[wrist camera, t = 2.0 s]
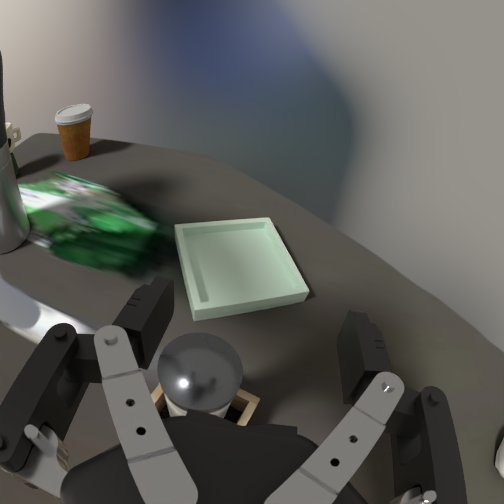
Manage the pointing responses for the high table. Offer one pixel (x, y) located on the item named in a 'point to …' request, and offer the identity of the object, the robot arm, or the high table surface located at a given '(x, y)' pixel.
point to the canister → (199, 374)
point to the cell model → (500, 459)
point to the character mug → (12, 143)
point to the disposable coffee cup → (75, 130)
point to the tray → (236, 267)
